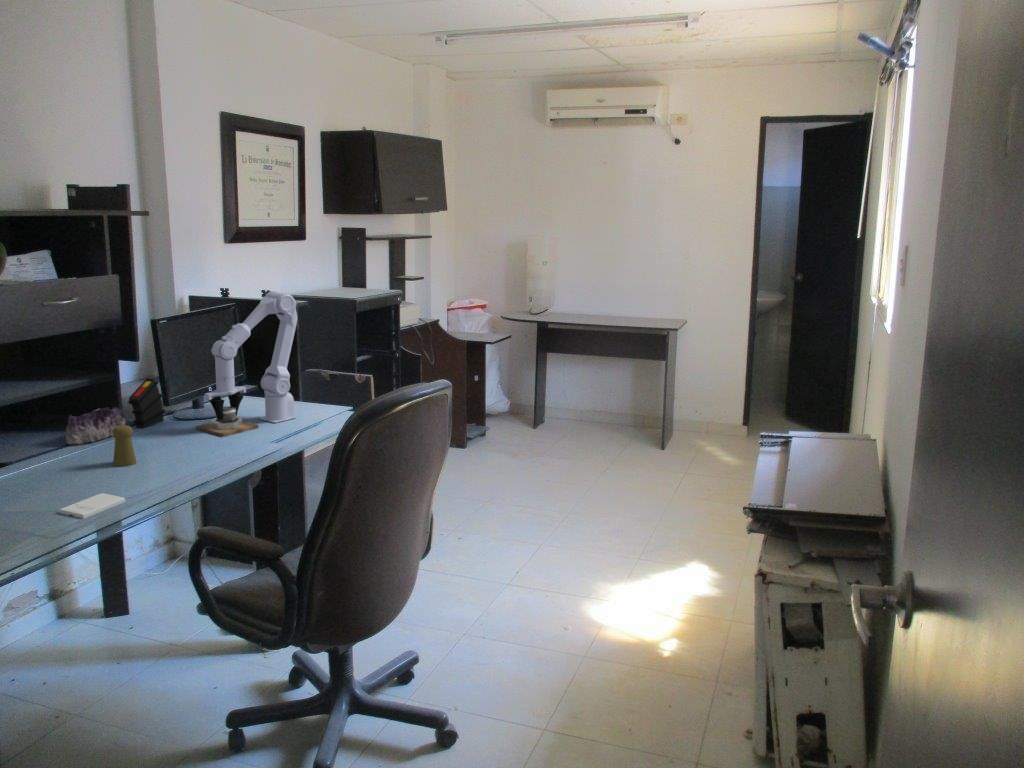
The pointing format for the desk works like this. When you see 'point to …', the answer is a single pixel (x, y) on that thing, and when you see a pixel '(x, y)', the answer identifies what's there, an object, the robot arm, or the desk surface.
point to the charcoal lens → (228, 414)
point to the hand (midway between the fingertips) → (226, 417)
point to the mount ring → (227, 424)
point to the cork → (123, 446)
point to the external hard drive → (92, 505)
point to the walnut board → (223, 433)
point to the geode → (93, 426)
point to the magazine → (147, 404)
